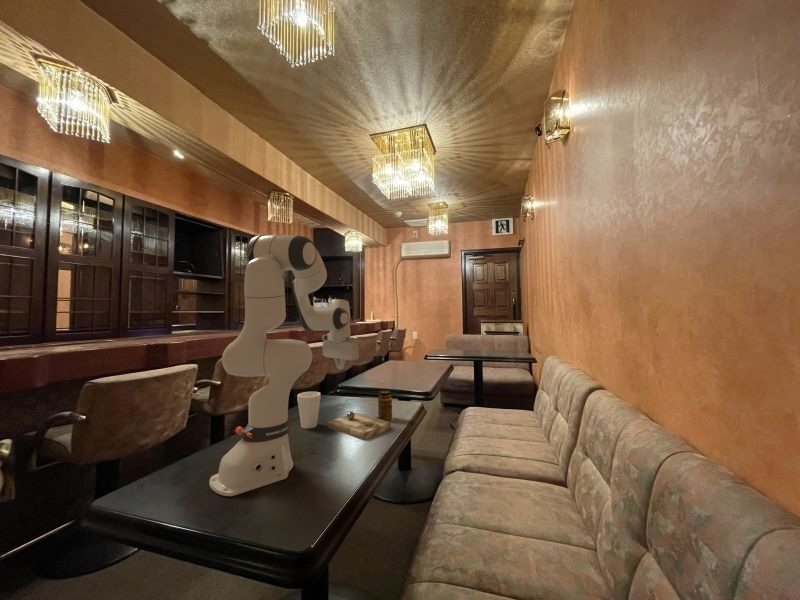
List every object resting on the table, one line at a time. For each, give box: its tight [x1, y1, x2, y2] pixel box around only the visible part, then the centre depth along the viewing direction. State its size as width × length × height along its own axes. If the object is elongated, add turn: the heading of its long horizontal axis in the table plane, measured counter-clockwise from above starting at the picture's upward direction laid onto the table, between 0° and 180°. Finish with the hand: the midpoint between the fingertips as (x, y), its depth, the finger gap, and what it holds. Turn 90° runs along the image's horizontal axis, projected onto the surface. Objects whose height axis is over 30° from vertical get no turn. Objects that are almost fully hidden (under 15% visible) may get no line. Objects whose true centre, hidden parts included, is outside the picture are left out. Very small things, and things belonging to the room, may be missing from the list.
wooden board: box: [327, 412, 392, 441], centre depth 133 cm, size 15×21×2 cm
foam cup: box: [296, 391, 322, 430], centre depth 137 cm, size 10×9×13 cm
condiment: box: [376, 390, 396, 422], centre depth 144 cm, size 7×8×12 cm
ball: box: [346, 411, 355, 420], centre depth 136 cm, size 3×3×3 cm
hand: (340, 368), depth 141 cm, fingers closed
